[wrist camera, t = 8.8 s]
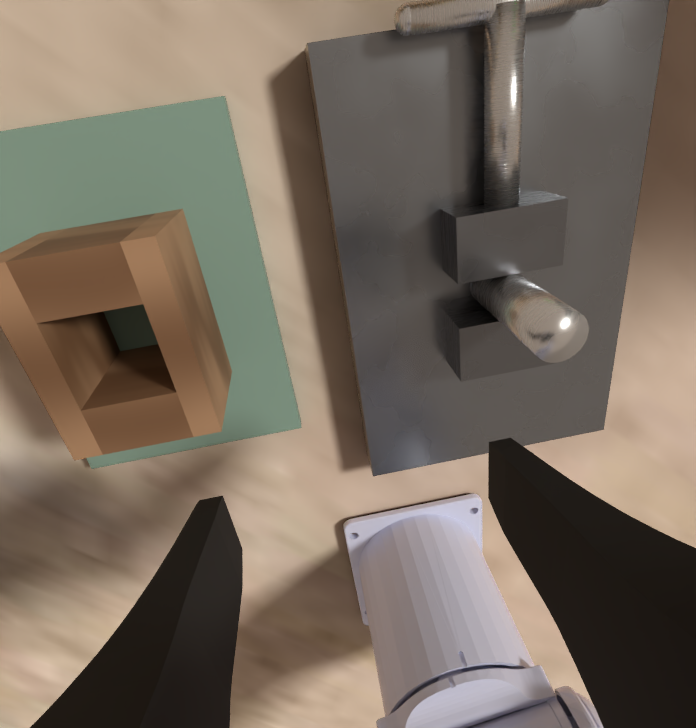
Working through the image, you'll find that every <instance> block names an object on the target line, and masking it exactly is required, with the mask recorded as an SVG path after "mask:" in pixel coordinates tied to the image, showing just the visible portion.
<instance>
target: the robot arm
mask: <svg viewBox="0 0 696 728" xmlns="http://www.w3.org/2000/svg"><path fill="white" fill-rule="evenodd" d="M488 498H489V500H490V503H491V505H492V507H493V510H494V512H495V514H496V517H497V519H498V521H499V523H500V526H501V528H502V530H503V532H504V534H505V536H506V538H507V539H508V541H509V543H510V545H511V546H512V548H513V550H514V551H515V553H516V555H517V557H518V558H519V560H520V562H521V563H522V565H523V567H524V569H525V570H526V572H527V574H528V575H529V577H530V579H531V580H532V582H533V584H534V585H535V587H536V589H537V591H538V592H539V594H540V596H541V597H542V599H543V601H544V602H545V604H546V606H547V608H548V609H549V611H550V613H551V615H552V617H553V619H554V621H555V622H556V624H557V626H558V628H559V630H560V632H561V635H562V637H563V639H564V641H565V643H566V645H567V647H568V649H569V652H570V654H571V656H572V658H573V660H574V662H575V664H576V667H577V669H578V671H579V673H580V675H581V678H582V680H583V682H584V684H585V687H586V689H587V691H588V693H589V695H590V698H591V700H592V702H593V704H594V705H593V704H592V703H591V702H590V701H589V700H588V699H587V698H585V697H583V696H582V695H580V694H578V693H576V692H575V691H574V690H573V689H572V688H570V687H569V686H563V687H560V688H557V689H555V693H554V691H553V689H552V687H551V685H550V683H549V681H548V678H547V676H546V674H545V672H544V670H543V668H542V666H540V665H537V666H535V665H534V663H533V661H532V659H531V657H530V655H529V653H528V650H527V648H526V646H525V644H524V642H523V640H522V638H521V635H520V633H519V631H518V629H517V627H516V625H515V623H514V621H513V618H512V616H511V614H510V612H509V610H508V608H507V606H506V603H505V601H504V599H503V597H502V595H501V593H500V591H499V589H498V586H497V584H496V582H495V580H494V578H493V576H492V574H491V572H490V569H489V567H488V565H487V563H486V561H485V559H484V557H483V554H482V500H481V498H480V496H479V495H477V494H468V495H464V496H459V497H454V498H449V499H444V500H439V501H435V502H430V503H425V504H420V505H415V506H410V507H406V508H401V509H396V510H391V511H386V512H381V513H377V514H372V515H367V516H362V517H357V518H353V519H349V520H347V521H346V522H345V523H344V525H343V528H344V533H345V538H346V543H347V548H348V553H349V557H350V562H351V567H352V572H353V577H354V582H355V586H356V591H357V596H358V601H359V606H360V611H361V615H362V620H363V623H364V624H365V625H367V626H369V628H370V634H371V639H372V645H373V650H374V656H375V661H376V667H377V672H378V678H379V683H380V689H381V695H382V700H383V706H384V711H385V717H383V718H381V719H378V720H377V722H376V723H377V728H696V548H694V547H692V546H690V545H687V544H685V543H683V542H681V541H678V540H676V539H674V538H672V537H670V536H668V535H666V534H664V533H662V532H660V531H658V530H656V529H654V528H652V527H650V526H648V525H646V524H644V523H642V522H640V521H638V520H636V519H634V518H633V517H631V516H629V515H627V514H625V513H623V512H622V511H620V510H618V509H616V508H615V507H613V506H611V505H610V504H608V503H606V502H605V501H603V500H601V499H600V498H598V497H596V496H595V495H593V494H592V493H590V492H588V491H587V490H585V489H584V488H582V487H581V486H579V485H578V484H576V483H575V482H573V481H572V480H570V479H569V478H567V477H566V476H564V475H563V474H561V473H560V472H558V471H557V470H555V469H554V468H553V467H551V466H550V465H548V464H547V463H545V462H544V461H543V460H541V459H540V458H538V457H537V456H536V455H534V454H533V453H532V452H530V451H529V450H527V449H526V448H525V447H523V446H522V445H520V444H519V443H518V442H516V441H515V440H513V439H512V438H506V439H501V440H496V441H491V442H489V497H488ZM472 508H473V509H472ZM352 533H355V534H352ZM241 595H242V547H241V544H240V541H239V539H238V536H237V533H236V531H235V528H234V525H233V522H232V520H231V517H230V514H229V512H228V509H227V506H226V503H225V501H224V498H223V496H219V497H214V498H209V499H204V500H199V502H198V503H197V504H196V506H195V508H194V510H193V511H192V513H191V515H190V517H189V519H188V520H187V522H186V524H185V526H184V527H183V529H182V531H181V533H180V534H179V536H178V538H177V540H176V541H175V543H174V545H173V546H172V548H171V550H170V551H169V553H168V554H167V556H166V558H165V559H164V561H163V563H162V564H161V566H160V567H159V569H158V571H157V572H156V574H155V575H154V577H153V579H152V580H151V581H150V583H149V584H148V586H147V587H146V589H145V590H144V592H143V593H142V595H141V596H140V598H139V599H138V601H137V602H136V604H135V605H134V607H133V608H132V609H131V611H130V612H129V613H128V615H127V616H126V618H125V619H124V620H123V622H122V623H121V624H120V626H119V627H118V628H117V630H116V631H115V632H114V634H113V635H112V636H111V637H110V639H109V640H108V641H107V642H106V644H105V645H104V646H103V648H102V649H101V650H100V651H99V652H98V654H97V655H96V656H95V657H94V658H93V660H92V661H91V662H90V663H89V664H88V665H87V667H86V668H85V669H84V670H83V671H82V672H81V673H80V675H79V676H78V677H77V678H76V679H75V680H74V681H73V682H72V684H71V685H70V686H69V687H68V688H67V689H66V690H65V692H64V693H63V694H62V695H61V696H60V697H59V698H58V699H57V700H56V701H55V702H54V703H53V705H52V706H51V707H50V708H49V709H48V710H47V711H46V712H45V713H44V714H43V715H42V716H41V717H40V718H39V719H38V720H37V721H36V722H35V723H34V724H33V725H32V726H31V727H30V728H229V726H230V696H231V683H232V673H233V664H234V656H235V648H236V639H237V631H238V622H239V613H240V605H241Z"/></svg>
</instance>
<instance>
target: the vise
mask: <svg viewBox="0 0 696 728" xmlns="http://www.w3.org/2000/svg"><path fill="white" fill-rule="evenodd" d="M668 4H669V0H423V1H416V2H410V3H405V4H403V5H401V6H400V7H399V8H398V10H397V12H396V14H395V18H394V23H395V27H396V30H390V31H383V32H377V33H370V34H364V35H357V36H351V37H344V38H338V39H331V40H325V41H318V42H312V43H307V45H306V48H305V55H306V62H307V68H308V74H309V81H310V87H311V94H312V100H313V107H314V113H315V120H316V126H317V132H318V139H319V145H320V152H321V158H322V165H323V171H324V178H325V184H326V190H327V197H328V203H329V210H330V216H331V223H332V229H333V236H334V242H335V248H336V255H337V261H338V268H339V274H340V281H341V287H342V294H343V300H344V306H345V313H346V319H347V326H348V332H349V339H350V345H351V352H352V358H353V364H354V371H355V377H356V384H357V390H358V397H359V403H360V410H361V416H362V422H363V429H364V435H365V442H366V448H367V455H368V459H369V463H370V466H371V470H372V474H373V476H377V475H382V474H387V473H392V472H397V471H402V470H407V469H411V468H416V467H421V466H426V465H431V464H436V463H441V462H446V461H451V460H456V459H461V458H466V457H471V456H476V455H480V454H485V453H489V442H491V441H496V440H501V439H506V438H512V439H513V440H515V441H516V442H518V443H519V444H520V445H522V446H525V445H530V444H535V443H540V442H545V441H549V440H554V439H559V438H564V437H569V436H574V435H579V434H584V433H589V432H594V431H599V430H604V423H605V417H606V410H607V404H608V397H609V391H610V384H611V378H612V371H613V365H614V358H615V351H616V345H617V338H618V332H619V325H620V319H621V312H622V306H623V299H624V293H625V286H626V279H627V273H628V266H629V260H630V253H631V247H632V240H633V234H634V227H635V221H636V214H637V207H638V201H639V194H640V188H641V181H642V175H643V168H644V162H645V155H646V149H647V142H648V135H649V129H650V122H651V116H652V109H653V103H654V96H655V90H656V83H657V76H658V70H659V63H660V57H661V50H662V44H663V37H664V31H665V24H666V18H667V11H668Z"/></svg>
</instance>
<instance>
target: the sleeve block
mask: <svg viewBox="0 0 696 728" xmlns="http://www.w3.org/2000/svg"><path fill="white" fill-rule="evenodd" d="M141 304H143V305H144V307H145V310H146V313H147V315H148V318H149V321H150V323H151V326H152V329H153V331H154V334H155V336H156V339H157V342H158V344H157V345H151V346H146V347H140V348H135V349H130V350H124V351H120V349H119V347H118V345H117V342H116V340H115V338H114V335H113V333H112V331H111V328H110V326H109V324H108V321H107V319H106V317H105V314H104V312H103V311H108V310H114V309H119V308H125V307H130V306H136V305H141ZM0 326H1V328H2V330H3V332H4V333H5V335H6V337H7V339H8V341H9V343H10V344H11V346H12V348H13V350H14V352H15V353H16V355H17V357H18V359H19V361H20V363H21V364H22V366H23V368H24V370H25V372H26V373H27V375H28V377H29V379H30V381H31V383H32V384H33V386H34V388H35V390H36V392H37V393H38V395H39V397H40V399H41V401H42V403H43V404H44V406H45V408H46V410H47V412H48V413H49V415H50V417H51V419H52V421H53V423H54V424H55V426H56V428H57V430H58V432H59V433H60V435H61V437H62V439H63V441H64V443H65V444H66V446H67V448H68V450H69V452H70V453H71V455H72V457H73V459H74V460H79V459H84V458H89V457H94V456H100V455H105V454H110V453H115V452H120V451H125V450H130V449H135V448H140V447H146V446H151V445H156V444H161V443H166V442H171V441H176V440H181V439H186V438H191V437H197V436H202V435H207V434H212V433H217V432H222V426H223V421H224V415H225V409H226V403H227V398H228V392H229V386H230V381H231V375H232V369H231V366H230V363H229V359H228V356H227V353H226V350H225V346H224V343H223V340H222V336H221V333H220V330H219V326H218V323H217V320H216V317H215V313H214V310H213V307H212V303H211V300H210V297H209V293H208V290H207V287H206V284H205V280H204V277H203V274H202V270H201V267H200V264H199V260H198V257H197V254H196V251H195V247H194V244H193V241H192V237H191V234H190V231H189V227H188V224H187V221H186V217H185V214H184V211H183V209H178V210H172V211H166V212H160V213H155V214H149V215H143V216H137V217H131V218H125V219H120V220H114V221H108V222H102V223H96V224H90V225H85V226H79V227H73V228H67V229H61V230H55V231H50V232H44V233H39V234H37V235H35V236H33V237H31V238H29V239H27V240H25V241H23V242H21V243H19V244H17V245H15V246H13V247H11V248H9V249H7V250H5V251H3V252H1V253H0Z"/></svg>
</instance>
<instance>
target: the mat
mask: <svg viewBox="0 0 696 728" xmlns="http://www.w3.org/2000/svg"><path fill="white" fill-rule="evenodd" d="M178 209H183V211H184V214H185V217H186V221H187V224H188V227H189V231H190V234H191V237H192V241H193V244H194V247H195V251H196V254H197V257H198V260H199V264H200V267H201V270H202V274H203V277H204V280H205V284H206V287H207V290H208V293H209V297H210V300H211V303H212V307H213V310H214V313H215V317H216V320H217V323H218V326H219V330H220V333H221V336H222V340H223V343H224V346H225V350H226V353H227V356H228V359H229V363H230V366H231V369H232V375H231V381H230V386H229V392H228V398H227V403H226V409H225V415H224V421H223V426H222V432H217V433H212V434H207V435H202V436H197V437H191V438H186V439H181V440H176V441H171V442H166V443H161V444H156V445H151V446H146V447H140V448H135V449H130V450H125V451H120V452H115V453H110V454H105V455H100V456H94V457H89V458H86V459H87V461H88V463H89V465H90V467H91V468H92V469H94V468H99V467H104V466H109V465H114V464H119V463H125V462H130V461H135V460H140V459H145V458H150V457H155V456H160V455H165V454H170V453H176V452H181V451H186V450H191V449H196V448H201V447H206V446H211V445H216V444H221V443H227V442H232V441H237V440H242V439H247V438H252V437H257V436H262V435H267V434H272V433H278V432H283V431H288V430H293V429H298V428H301V420H300V415H299V411H298V407H297V402H296V398H295V394H294V390H293V385H292V381H291V377H290V372H289V368H288V364H287V360H286V355H285V351H284V347H283V342H282V338H281V334H280V330H279V325H278V321H277V317H276V312H275V308H274V304H273V300H272V295H271V291H270V287H269V282H268V278H267V274H266V270H265V265H264V261H263V257H262V252H261V248H260V244H259V240H258V235H257V231H256V227H255V222H254V218H253V214H252V210H251V205H250V201H249V197H248V192H247V188H246V184H245V179H244V175H243V171H242V167H241V162H240V158H239V154H238V149H237V145H236V141H235V137H234V132H233V128H232V124H231V119H230V115H229V111H228V107H227V102H226V98H225V96H221V97H215V98H208V99H202V100H196V101H189V102H183V103H177V104H170V105H164V106H158V107H152V108H145V109H139V110H133V111H126V112H120V113H114V114H107V115H101V116H95V117H88V118H82V119H76V120H70V121H63V122H57V123H51V124H44V125H38V126H32V127H25V128H19V129H13V130H6V131H0V253H1V252H3V251H5V250H7V249H9V248H11V247H13V246H15V245H17V244H19V243H21V242H23V241H25V240H27V239H29V238H31V237H33V236H35V235H37V234H39V233H44V232H50V231H55V230H61V229H67V228H73V227H79V226H85V225H90V224H96V223H102V222H108V221H114V220H120V219H125V218H131V217H137V216H143V215H149V214H155V213H160V212H166V211H172V210H178ZM103 312H104V314H105V317H106V319H107V321H108V324H109V326H110V328H111V331H112V333H113V335H114V338H115V340H116V342H117V345H118V347H119V349H120V351H124V350H130V349H135V348H140V347H146V346H151V345H157V344H158V342H157V339H156V336H155V334H154V331H153V329H152V326H151V323H150V321H149V318H148V315H147V313H146V310H145V307H144V305H143V304H141V305H136V306H130V307H125V308H119V309H114V310H108V311H103Z"/></svg>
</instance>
